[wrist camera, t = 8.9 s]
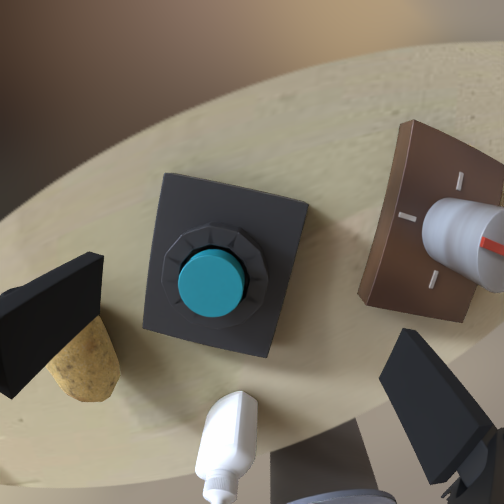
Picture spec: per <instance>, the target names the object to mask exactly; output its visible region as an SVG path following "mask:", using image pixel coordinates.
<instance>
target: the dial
mask: <svg viewBox="0 0 504 504" xmlns="http://www.w3.org/2000/svg"><path fill="white" fill-rule="evenodd" d="M422 239H423V244H424V247H425V249H426V251H427V253H428V254H429V256H430V257H431V258H433V259H434V260H435V261H437V262H439V263H441V264H443V265H444V266H446V267H448V268H450V269H452V270H453V271H455V272H457V273H459V274H460V275H462V276H464V277H466V278H467V279H469V280H471V281H473V282H474V283H476V284H478V285H479V286H481V287H483V288H484V289H486V290H488V291H490V292H492V293H501V292H504V207H501V206H496V205H491V204H485V203H480V202H474V201H469V200H463V199H457V198H443V199H441V200H439V201H437V202H436V203H435V204H434V205H433V206H432V207H431V208H430V209H429V211H428V212H427V214H426V216H425V219H424V222H423V227H422Z"/></svg>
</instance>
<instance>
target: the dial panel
mask: <svg viewBox="0 0 504 504" xmlns="http://www.w3.org/2000/svg"><path fill="white" fill-rule="evenodd" d="M503 182H504V165H503V164H502V163H500V162H498V161H497V160H495V159H493V158H491V157H490V156H488V155H486V154H484V153H482V152H481V151H479V150H477V149H475V148H473V147H471V146H469V145H467V144H466V143H464V142H462V141H460V140H458V139H456V138H454V137H452V136H449V135H447V134H445V133H443V132H441V131H439V130H437V129H434V128H432V127H430V126H428V125H426V124H423V123H421V122H419V121H416V120H411V121H408V122H405V123H402V124H400V128H399V133H398V139H397V144H396V149H395V154H394V159H393V164H392V169H391V173H390V178H389V182H388V186H387V191H386V195H385V199H384V203H383V207H382V211H381V215H380V219H379V222H378V226H377V230H376V233H375V237H374V241H373V244H372V248H371V251H370V254H369V258H368V261H367V264H366V268H365V271H364V274H363V277H362V280H361V283H360V287H359V290H358V293H357V294H358V295H359V297H360V298H361V299H362V301H363V302H364V303H365V305H367V306H372V307H377V308H382V309H387V310H392V311H398V312H403V313H408V314H414V315H419V316H425V317H430V318H436V319H441V320H447V321H453V322H459V323H463V320H464V318H465V316H466V313H467V311H468V308H469V305H470V303H471V300H472V298H473V295H474V292H475V289H476V286H477V284H476V283H474V282H473V281H471V280H469V279H467V278H466V277H464V276H462V275H460V274H459V273H457V272H455V271H453V270H452V269H450V268H448V267H446V266H444V265H443V264H441V263H439V262H437V261H435V260H434V259H433V258H431V257H430V256H429V254H428V253H427V251H426V249H425V247H424V244H423V239H422V227H423V222H424V219H425V216H426V214H427V212H428V211H429V209H430V208H431V207H432V206H433V205H434V204H435V203H436V202H437V201H439V200H441V199H443V198H457V199H463V200H469V201H474V202H480V203H485V204H491V205H496V206H499V204H500V199H501V194H502V188H503Z"/></svg>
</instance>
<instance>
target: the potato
mask: <svg viewBox="0 0 504 504" xmlns="http://www.w3.org/2000/svg"><path fill="white" fill-rule="evenodd" d="M46 368H47V369H48V370H49V372H50V373H51V374H52V376H53V377H54V379H55V380H56V382H57V383H58V385H59V386H60V388H61V389H62V390H63V391H64V392H65V393H66V394H67V395H69V396H71V397H73V398H75V399H77V400H79V401H81V402H103V401H104V400H106V399H107V398H109V397H110V396H111V394H112V392H113V390H114V388H115V386H116V384H117V382H118V380H119V378H120V376H121V375H120V366H119V361H118V359H117V356H116V353H115V350H114V348H113V345H112V342H111V340H110V338H109V335H108V333H107V331H106V328H105V326H104V324H103V322H102V320H101V318H100V316H99V315H98V316H97V317H96V318H95V319H94V320H93V321H92V322H90V323H89V324H88V325H87V326H86V327H85V328H84V329H83V330H82V331H81V332H80V333H79V334H78V335H77V336H76V337H74V338H73V339H72V340H71V341H70V342H69V343H68V344H67V345H66V346H65V347H64V348H63V349H62V350H61V351H60V352H59V353H58V354H57V355H56V356H55V357H54V358H53V359H52V360H51V361H50V362H49V363H48V364H47V365H46Z"/></svg>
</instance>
